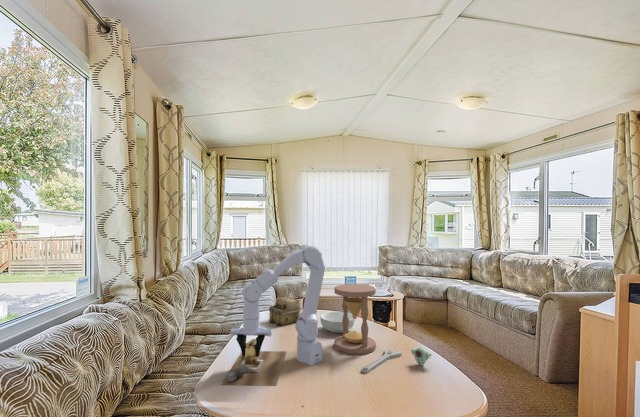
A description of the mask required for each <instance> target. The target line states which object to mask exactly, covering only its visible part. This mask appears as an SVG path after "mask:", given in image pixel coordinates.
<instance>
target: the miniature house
mask: <svg viewBox="0 0 640 417" xmlns="http://www.w3.org/2000/svg"><path fill="white" fill-rule="evenodd" d="M300 305H301V303H300V300H299V299H296V298H292V297H289V296H285V297H280V298H279V297H277V298H275V303H274V304H273V305H271V306H269V309H268V311H269V320H268V324H274V325H275V327H286V326H290V325H294V324H295V325H296V322H297V320H298V319H299V316H300V313H301V312H302V311H301V309H300Z"/></svg>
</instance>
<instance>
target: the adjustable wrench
mask: <svg viewBox="0 0 640 417" xmlns="http://www.w3.org/2000/svg"><path fill="white" fill-rule="evenodd" d="M382 354H383V355H382V356H380V357H378V358H376V359H375V360H372V361H371V362H369V363H368V364H366V365H364V366H363V367H361V369H360V370H361V374H364V375H365V374H369V373H370V372H372V371H373V370H374V369H376V368H378V367H379V366H381V365H382V364H384V363H386V362H387V361H389V360H391V359H394V358H399V357H401V356H402V354H403V352H402V350H401V349H398V351H393V350H392V348H387V349H385V350H383V352H382Z"/></svg>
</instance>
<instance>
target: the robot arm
mask: <svg viewBox="0 0 640 417" xmlns="http://www.w3.org/2000/svg"><path fill="white" fill-rule="evenodd" d="M322 255H323V253H322V252H321V251H320V250H319V248H318V247H316V246H312V245H308V244H302V245H300V246H298V248H295V249H294V250H293V251H292V252H291V253H290V254H289V255H288V256H286V257H285V258H284V259H283V260H281V261H280V263H279V264H277V265H276V266H275V267H274V268H273V269H266V270H264V269H263V270H262V271H261V274H259V275H258V276H257V277H256V278H254V279H251V280H250V283H249V282H248V283H246V284H245V285H244V286H243V287H242V290H241V294H242V296H243V297H244V298H243V307H242V308H243V312H242V314H243V315H242V318H243V319H242V321H243V322H242V323H243V324H242V327H240V328H239V327H238V328H231V329H230V336H233V337H234V336H237V337H236V339H235V340H236V342H237V343H238V345H239V347H240V351H241V352H242V356H243V357H244V356H245V344H246V343H247V336H256V338H255V339H256V342H255V343H256V346H257V350H256V357H259V355H260V351H261V349H262V346H263V344H264V340H265V338H266V337H272V333H273V332H272V330H273V329H269V328H261V327H260V308H261V307H260V299H261V297H262V294H263V293H265V292H266V291H267V290H269V289H270V288H271V287H272V286H274V285H275V284H276V283H277V282H278V277H280V276H281V275H282V274H283V273H285V272H286V271H288V270H289V269H291V267H292V268H293V266H295V265H297V264H306V266H307V267H308V269H309V271H310V273H309V276H308V277H309V279H308V283H307V288H306V293H305V298H304V303H303V308H302V311H300V316H299V319H298V320H297V322H296V323H295V327H294V328H295V330H296V332H297V336H296V340H297V341H296V360H297V361H298V362H300V363H303V364H306V365H309V366H313V365H315V364H318V363H321V362H322V361H323V345H322V343H321V342H320V341H319V340H317V336H318V334H319V327H318V322H319V321H318V316H317V313H318V312H317V311H318V306H319V301H320V296H321V291H322V286H323V280H324V276H325V271H326V266H325V262H324V260H323V256H322Z"/></svg>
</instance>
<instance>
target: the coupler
mask: <svg viewBox="0 0 640 417" xmlns="http://www.w3.org/2000/svg"><path fill="white" fill-rule="evenodd" d="M256 350H257V346H256V338H252V339H251V340H250V341H248V342H246V344H245V363H247V364H253V363H256V362H257V357H256Z"/></svg>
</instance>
